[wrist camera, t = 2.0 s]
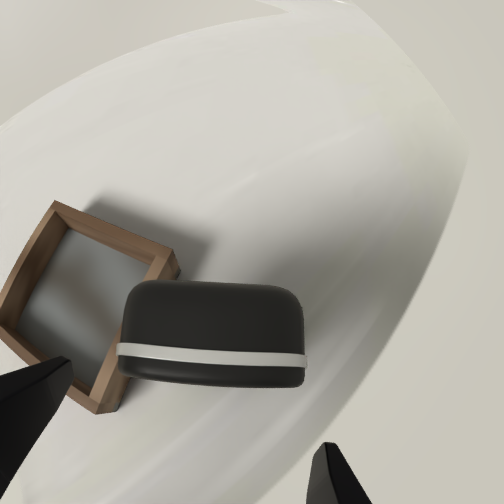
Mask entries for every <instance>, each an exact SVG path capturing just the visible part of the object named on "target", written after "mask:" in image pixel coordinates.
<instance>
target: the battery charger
mask: <svg viewBox="0 0 504 504" xmlns="http://www.w3.org/2000/svg"><path fill="white" fill-rule="evenodd" d="M116 356H118V370H119V372H120V373H121V374H122V375H125V376H128V377H134V378H140V379H147V380H155V381H162V382H171V383H180V384H191V385H203V386H218V387H239V388H294V387H299V386H300V385H302V383H303V381H304V377H305V369H307V356H305V353H304V318H303V311H302V307H301V305H300V303H299V301H298V299H297V298H296V297H295V296H294V295H293V294H292V293H291V292H290V291H288V290H286V289H283V288H280V287H276V286H270V285H256V284H237V283H219V282H200V281H182V280H163V279H156V280H147V281H143V282H141V283H139V284H138V285H136V286H134V287H133V289H132V290H131V292H130V293H129V294H128V297H127V300H126V304H125V308H124V313H123V321H122V328H121V336H120V343H118V344H117V348H116Z"/></svg>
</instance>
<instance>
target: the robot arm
mask: <svg viewBox="0 0 504 504" xmlns="http://www.w3.org/2000/svg"><path fill="white" fill-rule="evenodd" d="M74 376H75V375H74V370H73V365H72V361H71V360H70V359H69V358H67V357H65V356H63V355H61V356H57V357H54V358H52V359H49V360H46V361H43V362H40V363H37V364H34V365H31V366H28V367H25V368H22V369H19V370H16V371H13V372H10V373H7V374H3V375H0V499H1V498H2V496H3V494H4V492H5V491H6V489H7V487H8V485H9V484H10V481H11V480H12V479H13V477H14V475H15V474H16V472H17V470H18V469H19V467H20V466H21V464H22V462H23V461H24V459H25V458H26V456H27V455H28V453H29V452H30V450H31V448H32V447H33V445H34V444H35V442H36V441H37V439H38V438H39V436H40V435H41V433H42V432H43V430H44V429H45V427H46V426H47V425H48V423H49V422H50V420H51V419H52V417H53V416H54V414H55V413H56V411H57V410H58V408H59V406H60V404H61V403H62V401H63V399H64V397H65V395H66V393H67V391H68V390H69V388H70V386H71V384H72V382H73V380H74ZM306 504H372V503H371V501H370V500H369V498H368V496H367V495H366V493H365V491H364V490H363V488H362V486H361V485H360V483H359V482H358V480H357V478H356V476H355V475H354V473H353V471H352V470H351V468H350V466H349V465H348V463H347V461H346V459H345V458H344V456H343V454H342V453H341V451H340V449H339V448H338V446H337V445H336V444H335V443H331V442H324V443H323V444H322V445H321V446H320V447H319V449H318V450H317V451H316V453H315V454H314V456H313V461H312V467H311V473H310V479H309V485H308V490H307V499H306Z"/></svg>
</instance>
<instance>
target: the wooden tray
mask: <svg viewBox="0 0 504 504" xmlns="http://www.w3.org/2000/svg"><path fill="white" fill-rule="evenodd" d="M180 271H181V270H180V267H179V265H178V262H177V260H176V257H175V254H174V252H173V249H170V248H168V247H165V246H163V245H160V244H158V243H156V242H153V241H151V240H148V239H146V238H143V237H141V236H138V235H136V234H133V233H131V232H129V231H126V230H124V229H121V228H119V227H117V226H114V225H112V224H109V223H107V222H105V221H102V220H100V219H98V218H95V217H93V216H90V215H88V214H86V213H83V212H81V211H79V210H76V209H74V208H72V207H69V206H67V205H65V204H63V203H60V202H58V201H56V200H54V202H53V203H52V205H51V206H50V208H49V209H48V211H47V212H46V214H45V215H44V217H43V218H42V220H41V221H40V223H39V224H38V226H37V227H36V229H35V231H34V232H33V234H32V235H31V237H30V239H29V240H28V242H27V244H26V245H25V247H24V249H23V251H22V252H21V254H20V256H19V258H18V259H17V261H16V263H15V265H14V267H13V269H12V271H11V273H10V274H9V276H8V278H7V280H6V282H5V284H4V286H3V289H2V291H1V293H0V339H1V340H2V341H3V342H4V343H5V344H6V345H7V346H8V347H9V348H10V349H11V350H13V351H14V352H15V353H16V354H17V355H18V356H19V357H20V358H21V359H22V360H23V361H25V362H26V363H27V364H28V365H29V366H31V365H34V364H37V363H40V362H43V361H46V360H49V359H52V358H54V357H57V356H61V355H63V356H65V357H67V358H69V359H70V360H71V361H72V365H73V370H74V375H75V376H74V380H73V382H72V384H71V386H70V388H69V390H68V391H67V393H66V395H67V396H68V397H70V398H71V399H73V400H74V401H76V402H77V403H78V404H80V405H81V406H83V407H84V408H86V409H87V410H89V411H90V412H92V413H93V414H95V415H96V414H104V413H111V412H116V411H117V408H118V406H119V403H120V401H121V399H122V396H123V394H124V391H125V389H126V387H127V384H128V382H129V380H130V377H128V376H125V375H122V374H121V373H120V372H119V370H118V356H116V348H117V344H118V343H120V336H121V328H122V321H123V313H124V308H125V304H126V300H127V297H128V294H129V293H130V292H131V290H132V289H133V287H134V286H136V285H138V284H139V283H141V282H143V281H147V280H156V279H163V280H176V279H177V277H178V275H179V273H180Z"/></svg>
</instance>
